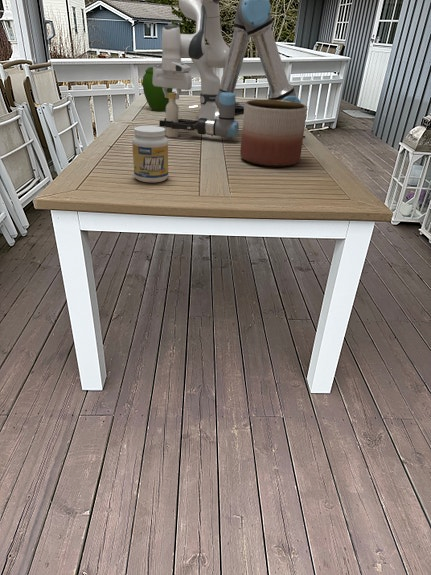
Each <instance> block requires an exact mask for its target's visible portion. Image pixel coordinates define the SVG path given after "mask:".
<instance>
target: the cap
mask: <svg viewBox="0 0 431 575" xmlns="http://www.w3.org/2000/svg"><path fill="white" fill-rule="evenodd" d="M176 94H177V92H172V93H167V98H170V99H175V95H176Z"/></svg>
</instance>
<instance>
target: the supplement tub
mask: <svg viewBox="0 0 431 575" xmlns="http://www.w3.org/2000/svg"><path fill="white" fill-rule="evenodd" d="M133 130H134V131H133V134H134V136H133V137H132V140H131V144H132V160H133V176H134V178H135V179H136V180H138V181H139V182H143V183H161V182H164V181H166V180H167V179H168V177H169V141H168V138H167V136H166V128H165V127H160V126H159V125H158V126H157V125H139V126H136V127H134V128H133Z"/></svg>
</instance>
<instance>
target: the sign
mask: <svg viewBox="0 0 431 575" xmlns="http://www.w3.org/2000/svg"><path fill="white" fill-rule="evenodd" d="M245 102H246V101H236V103H235V114H236V113H240V112H243V113H242V114H244V105H245Z"/></svg>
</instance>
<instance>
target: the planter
mask: <svg viewBox="0 0 431 575" xmlns="http://www.w3.org/2000/svg"><path fill="white" fill-rule="evenodd" d="M244 102H245V105H244V113H243V120H242V130H241V131H242V132H241V140H240V157H241V158H242V159H243V160H244V161H245V162H248V163H250V164H253V165H255V166H256V165H257V166H262V167H269V168H282V167H289V166H293V165H295V164H297V163H298V162H299V161H300V159H301V155H302V149H303V141H304V138H303V136H304V134H305V126H306V119H307V112H308V106H307V105H306V104H304V103H302V102H301V103H296V102H291V101H282V100H268V99H249V100H247V101H244Z"/></svg>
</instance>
